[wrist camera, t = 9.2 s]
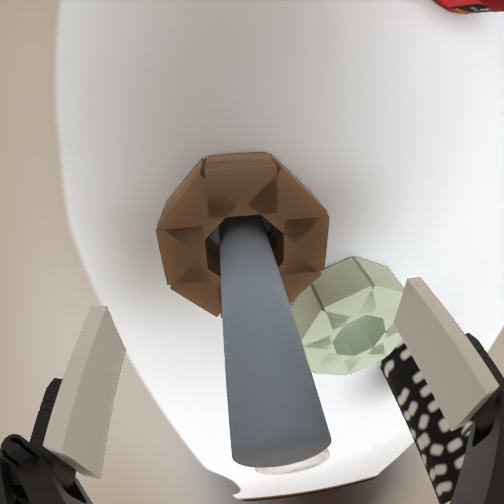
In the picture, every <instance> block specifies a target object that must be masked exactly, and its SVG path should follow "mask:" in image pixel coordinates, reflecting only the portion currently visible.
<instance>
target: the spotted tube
mask: <svg viewBox="0 0 504 504" xmlns="http://www.w3.org/2000/svg"><path fill="white" fill-rule="evenodd" d="M385 357H386V358H384V359H383V360H382V363H381V370H382V372H383V374H384V376H385V378H386V380H387V382H388V384H389V386H390V388H391V391H392V393H393V395H394V397H395V399H396V401H397V403H398V405H399V408H400V410H401V412H402V414H403V416H404V419H405V421H406V423H407V425H408V427H409V430H410V432H411V434H412V437H413V439H414V441H415V443H416V446H417V448H418V450H419V453H420V455H421V458H422V460H423V462H424V465H425V467H426V470H427V472H428V475H429V477H430V480H431V482H432V485H433V488H434V490H435V493H436V495H437V498H438V500H439V503H440V504H444V503H446V502H448V501H450V500H451V499H452V497H453V494H454V491H455V488H456V484H457V481H458V478H459V474H460V471H461V467H462V464H463V460H464V456H465V452H466V448H467V443H468V439H469V437H467V436H468V435H469V433H470V431H469V432H468V433H467V434H466V435H465V436H462V435H463V432H464V431H465V430H466V429H467V428H468V427H469V426H470V425H471V424H472V423H473V422H474V420H473V418H471V419H470V420H469V421H468V422H467V423H466V424H465V425H463V426H461V427H459V428H457V429H455V430H453V431H451V430H450V428H449V426H448V424H447V421H446V419H445V417H444V415H443V413H442V411H441V409H440V407H439V405H438V403H437V401H436V399H435V397H434V395H433V394H432V392H431V390H430V388H429V386H428V384H427V382H426V380H425V378H424V377H423V375H422V373H421V371H420V369H419V367H418V366H417V364H416V362H415V360H414V358H413V357H412V355H411V353H410V351H409V350H408V348H407V346H406V344H405V343H404V341H403V339H402V340H401V341H400V342H399V343H398V345H397V346H396V347H395V348H394V349H393V351H392V352H391V353H390V354H389V355H388V356H385Z"/></svg>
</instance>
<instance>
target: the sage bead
mask: <svg viewBox="0 0 504 504" xmlns="http://www.w3.org/2000/svg"><path fill="white" fill-rule="evenodd" d="M320 272H321V274H322V275H321V276H320V277H319V278H318V279H316V280H315V281H314V282H313V283H312V284H311V285H310V286H309V287H307V288H306V289H305V290H304V291H303V292H302V293H301V294H299V295H298V296H297V297H296V299H295V301H294V303H293V305H292V306H291V310H292V313H293V316H294V319H295V322H296V326H297V329H298V332H299V335H300V338H301V341H302V345H303V348H304V351H305V354H306V357H307V361H308V364H309V367H310V370H311V372H312V371H313V373H320V374H334V375H347V374H348V373H349V374H352V373H355V372H357V371H359V370H361V369H363V368H365V367H368V366H370V365H372V364H374V363H376V362H378V361H380V360H382V359H384V358H386V357H385V356H388V355H389V354H390V353H391V352H392V351H393V349H394V348H395V347H396V346H397V345H398V343H399V342H400V341H401V340H402V338H401V336H400V334H399V332H398V331H397V329H396V327H395V326H394V324H393V321H394V319H395V316H396V313H397V310H398V307H399V304H400V301H401V298H402V295H403V291H404V287H403V286H402V284H401V283H400V282H399V281H398V279H397V278H396V277H395V276H394V274H393V273H392V272H391V271H390V270H389V268H388V267H386V266H383V265H380V264H377V263H374V262H371V261H367V260H364V259H361V258H358V257H354V259H353V258H352V257H350V258H348V259H346V260H343V261H341V262H339V263H337V264H335V265H333V266H330V267H328V268H326V269H324V271H320Z"/></svg>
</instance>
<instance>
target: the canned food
mask: <svg viewBox="0 0 504 504" xmlns="http://www.w3.org/2000/svg"><path fill="white" fill-rule="evenodd" d="M435 1H436V2H438V3H439V4H440V5H442V6H444V7H445V8H447V9H449V10H452V11H455V12H459V13H465V14H468V13H480V12H500V11H504V0H435Z"/></svg>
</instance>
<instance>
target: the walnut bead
mask: <svg viewBox="0 0 504 504" xmlns="http://www.w3.org/2000/svg"><path fill="white" fill-rule="evenodd" d="M260 214H261V215H262V216H263V217H264V218H265V219H267V220H268V221H269V222H270V223H271V224H273V233H272V234H271V235H270V236H269V237H268V239H269V242H270V245H271V248H272V251H273V255H274V258H275V261H276V264H277V267H278V270H279V273H280V276H281V279H282V282H283V285H284V288H285V291H286V294H287V297H288V300H289V303H290V302H291V301H293V300H294V299H295V298H296V297H297V296H298V295H299V294H301V293H302V292H303V291H304V290H305V289H306V288H307V287H309V286H310V285H311V284H312V283H313V282H314V281H315V280H316V279H318V278H319V277H320V276H321V275H322V274H321V272H320V271H324V268H325V258H326V248H327V238H328V227H329V215H328V214H327V211H326V209H325V208H324V207H323V206H322V205H321V203H320V202H319V201H318V200H317V199H316V198H315V196H314V195H313V194H312V193H311V192H310V191H309V190H308V189H307V188H306V187H305V186H304V185H303V184H302V183H301V182H300V181H299V180H298V179H297V178H296V177H295V176H294V175H293V174H292V173H291V172H290V171H289V170H288V169H286V168H285V167H284V166H283V165H282V164H281V163H280V162H279V161H278V160H277V159H276V158H275V157H273V156H272V155H271V154H269V155H268V154H267V153H266V152H254V153H237V154H224V155H212V156H207V159H206V160H204V159H203V158H202V159H201V161H200V162H199V163H198V164H197V165H196V166H195V168H194V169H193V170H192V171H191V172H190V173H189V175H188V176H187V177H186V178H185V179H184V181H183V182H182V183H181V184H180V186H179V187H178V188H177V189H176V190H175V192H174V193H173V194H172V195H171V197H170V198H169V199H168V200H167V202H166V205H165V207H164V210H163V212H162V214H161V217H160V219H159V222H158V224H157V229H156V234H157V239H158V244H159V249H160V253H161V258H162V263H163V267H164V272H165V276H166V280H167V285H171V287H170V289H172V290H174V291H175V292H177V293H178V294H180V295H182V296H183V297H185V298H186V299H188V300H190V301H191V302H193V303H195V304H196V305H198V306H199V307H201V308H203V309H204V310H206V311H208V312H209V313H211V314H213V315H214V316H216V317H217V316H218V315H219V314H220V313H221V318H223V316H222V294H221V269H220V246H219V245H218V244H216V243H215V242H214V241H212V240H211V239H210V238H209V235H210V234H211V233H212V232H213V231H214V230H215V229H216V228H217V227H218V226H219V224H220V223H221V222H222V221H223V220H224V219H225V218H226V217H234V216H247V215H260Z"/></svg>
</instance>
